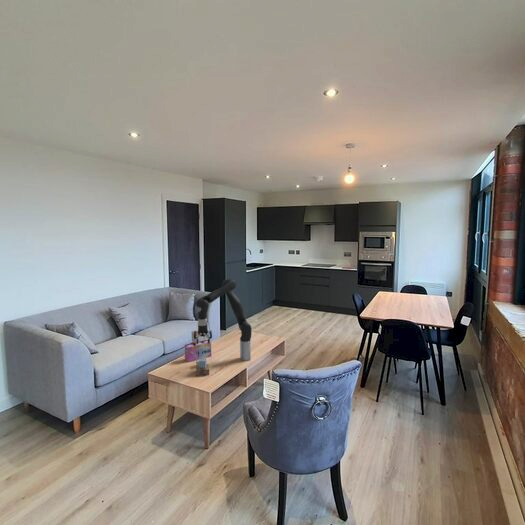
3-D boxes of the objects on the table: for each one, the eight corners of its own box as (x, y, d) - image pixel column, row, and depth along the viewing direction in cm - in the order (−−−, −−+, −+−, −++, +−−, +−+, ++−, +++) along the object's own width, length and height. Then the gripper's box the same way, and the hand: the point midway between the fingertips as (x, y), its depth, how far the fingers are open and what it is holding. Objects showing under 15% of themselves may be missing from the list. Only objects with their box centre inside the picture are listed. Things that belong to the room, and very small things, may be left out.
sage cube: (202, 364, 273) (202, 359, 273) (202, 367, 268) (202, 361, 268) (196, 365, 272) (196, 359, 271) (196, 367, 267) (196, 362, 266)
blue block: (206, 365, 260) (206, 358, 260) (205, 368, 255) (205, 361, 255) (200, 365, 260) (200, 358, 260) (199, 368, 255) (199, 361, 255)
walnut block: (208, 369, 264) (208, 364, 263) (209, 375, 254) (209, 369, 254) (196, 370, 262) (196, 365, 261) (196, 376, 252) (196, 370, 252)
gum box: (209, 353, 298) (209, 339, 296) (213, 356, 291) (212, 341, 290) (184, 359, 284) (184, 344, 283) (188, 362, 278) (187, 347, 276)
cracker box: (203, 348, 309) (202, 327, 307) (207, 350, 305) (207, 328, 303) (191, 353, 298) (191, 331, 296) (196, 354, 295) (195, 332, 292)
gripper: (212, 322, 258) (212, 341, 260) (194, 322, 258) (195, 341, 260) (210, 325, 251) (211, 345, 253) (192, 325, 251) (193, 345, 252)
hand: (203, 343), depth 256 cm, fingers open, 8 cm apart
